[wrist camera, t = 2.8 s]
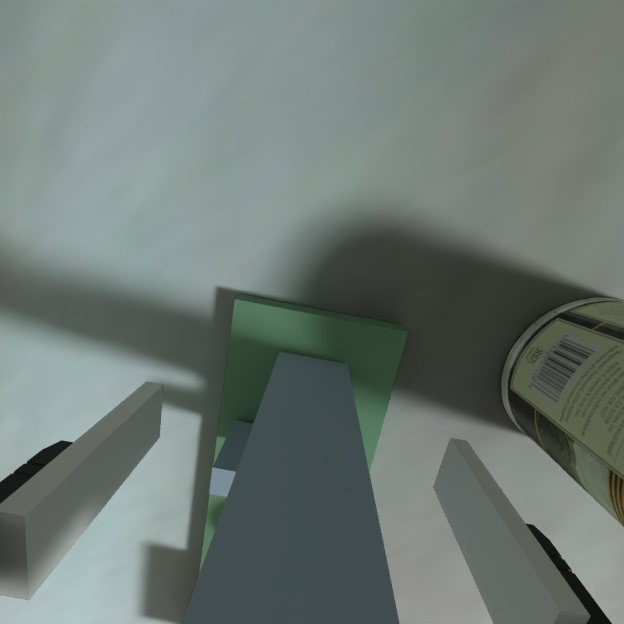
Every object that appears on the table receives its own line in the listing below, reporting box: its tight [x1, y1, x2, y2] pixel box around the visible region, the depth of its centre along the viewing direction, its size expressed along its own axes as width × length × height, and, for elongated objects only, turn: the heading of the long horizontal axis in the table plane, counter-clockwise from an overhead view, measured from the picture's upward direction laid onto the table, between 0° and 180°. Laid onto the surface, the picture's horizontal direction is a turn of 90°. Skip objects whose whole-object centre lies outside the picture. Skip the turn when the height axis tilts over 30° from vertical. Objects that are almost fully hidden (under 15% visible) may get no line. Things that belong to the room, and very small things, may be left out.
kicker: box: [181, 351, 399, 624], centre depth 12 cm, size 7×8×14 cm
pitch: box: [199, 294, 408, 573], centre depth 21 cm, size 21×10×2 cm, turn 169°
